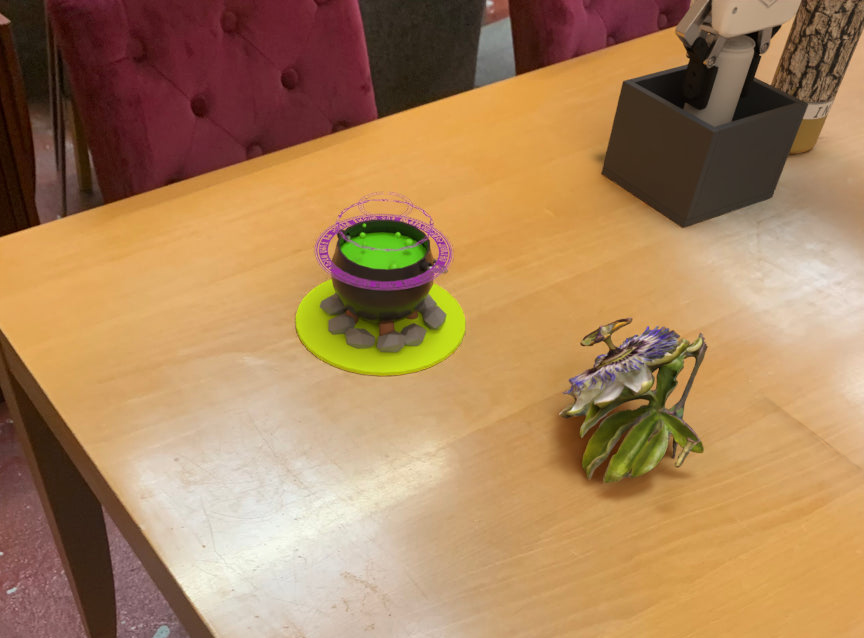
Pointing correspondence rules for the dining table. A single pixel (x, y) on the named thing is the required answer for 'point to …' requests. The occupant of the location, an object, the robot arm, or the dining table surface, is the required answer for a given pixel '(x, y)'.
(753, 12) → the robot arm
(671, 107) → the bin
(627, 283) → the dining table surface
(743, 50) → the beverage can
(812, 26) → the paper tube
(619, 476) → the passion flower
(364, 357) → the toy cauldron
